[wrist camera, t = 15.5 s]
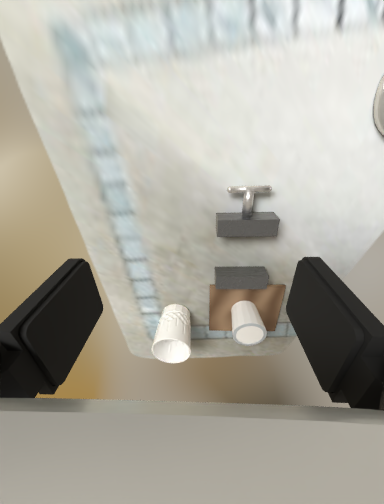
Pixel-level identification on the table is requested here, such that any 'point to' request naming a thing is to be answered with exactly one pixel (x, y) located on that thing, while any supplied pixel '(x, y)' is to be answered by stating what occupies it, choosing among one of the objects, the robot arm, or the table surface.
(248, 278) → the vise
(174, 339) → the white cup
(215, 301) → the serving board
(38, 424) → the robot arm
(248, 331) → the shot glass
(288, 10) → the table surface
